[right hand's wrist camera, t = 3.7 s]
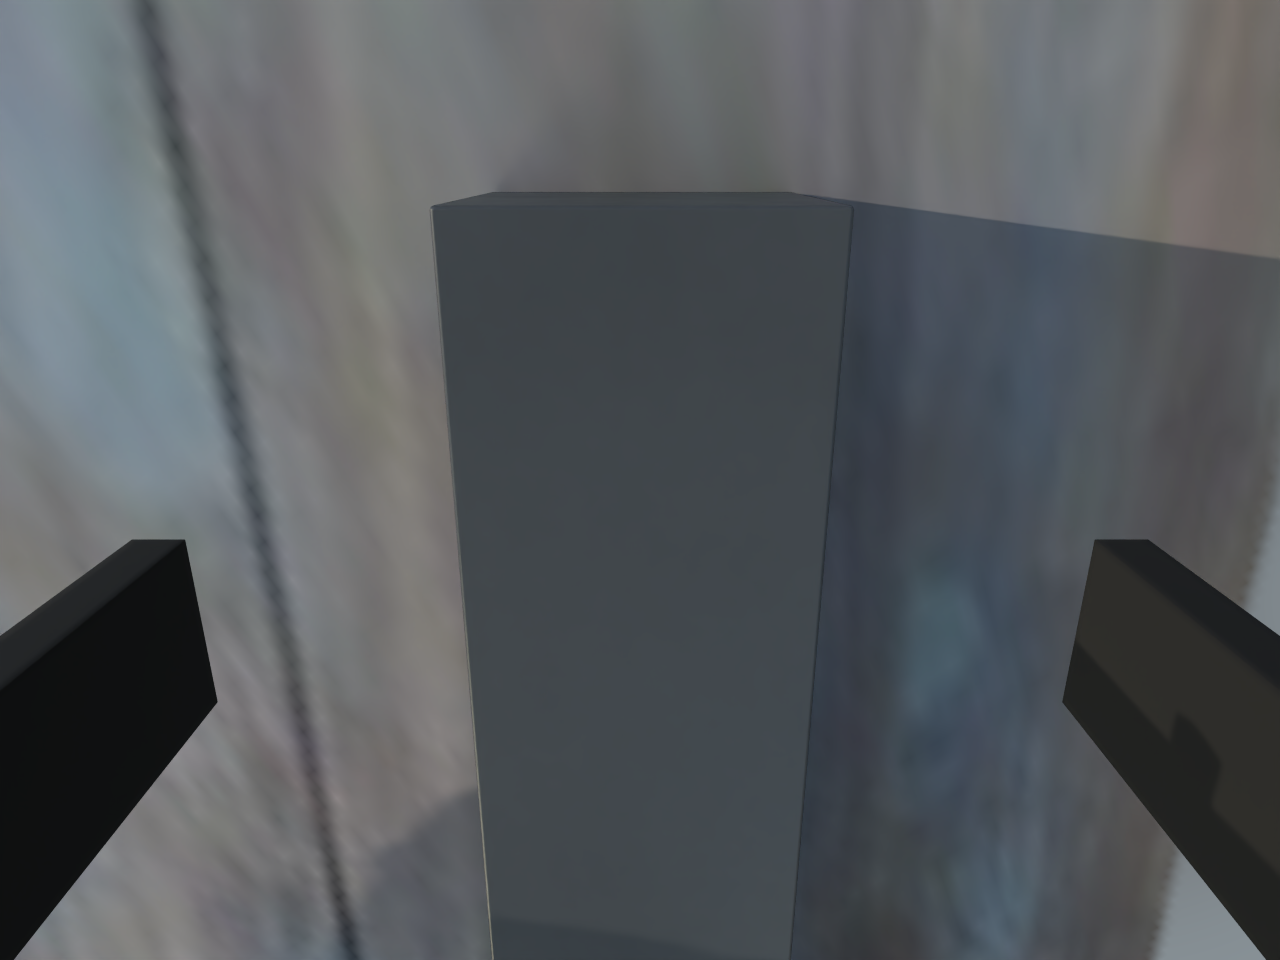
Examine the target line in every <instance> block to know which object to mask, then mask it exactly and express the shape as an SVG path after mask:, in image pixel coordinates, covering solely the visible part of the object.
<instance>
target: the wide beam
mask: <svg viewBox="0 0 1280 960" xmlns="http://www.w3.org/2000/svg"><path fill="white" fill-rule="evenodd" d="M853 215H854V209H853V207H852V206H850V205H845V204H841V203H836V202H832V201H827V200H823V199H818V198H814V197H810V196H805V195H801V194H796V193H792V192H492V193H487V194H483V195H478V196H474V197H469V198H465V199H460V200H456V201H452V202H447V203H443V204H438V205H434V206H432V207H431V208H430V219H431V231H432V243H433V255H434V267H435V279H436V291H437V303H438V315H439V327H440V339H441V351H442V364H443V376H444V388H445V400H446V412H447V424H448V436H449V448H450V460H451V472H452V484H453V496H454V508H455V520H456V533H457V545H458V557H459V569H460V581H461V593H462V605H463V617H464V629H465V641H466V653H467V665H468V677H469V689H470V701H471V714H472V726H473V738H474V750H475V762H476V774H477V786H478V798H479V810H480V822H481V834H482V846H483V858H484V870H485V882H486V895H487V907H488V919H489V931H490V943H491V955H492V960H791V949H792V937H793V925H794V914H795V902H796V890H797V878H798V866H799V854H800V843H801V831H802V819H803V807H804V795H805V783H806V772H807V760H808V748H809V736H810V724H811V712H812V700H813V689H814V677H815V665H816V653H817V641H818V629H819V618H820V606H821V594H822V582H823V570H824V558H825V547H826V535H827V523H828V511H829V499H830V487H831V476H832V464H833V452H834V440H835V428H836V416H837V405H838V393H839V381H840V369H841V357H842V345H843V334H844V322H845V310H846V298H847V286H848V274H849V263H850V251H851V239H852V227H853Z"/></svg>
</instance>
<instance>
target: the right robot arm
mask: <svg viewBox="0 0 1280 960" xmlns="http://www.w3.org/2000/svg"><path fill="white" fill-rule="evenodd" d="M216 703H217V697H216V692H215V687H214V682H213V677H212V672H211V667H210V662H209V657H208V652H207V647H206V642H205V637H204V632H203V627H202V622H201V617H200V612H199V607H198V602H197V597H196V592H195V587H194V582H193V577H192V572H191V567H190V562H189V557H188V552H187V547H186V542H185V540H131V541H129V542H128V543H127V544H125V545H124V546H123V547H121V548H120V549H119V550H117V551H116V552H114V553H113V554H112V555H110V556H109V557H108V558H106V559H105V560H103V561H102V562H101V563H99V564H98V565H97V566H95V567H94V568H93V569H91V570H90V571H88V572H87V573H86V574H84V575H83V576H82V577H80V578H79V579H77V580H76V581H75V582H73V583H72V584H71V585H69V586H68V587H67V588H65V589H64V590H62V591H61V592H60V593H58V594H57V595H56V596H54V597H53V598H52V599H50V600H49V601H47V602H46V603H45V604H43V605H42V606H41V607H39V608H38V609H36V610H35V611H34V612H32V613H31V614H30V615H28V616H27V617H26V618H24V619H23V620H21V621H20V622H19V623H17V624H16V625H15V626H13V627H12V628H11V629H9V630H8V631H6V632H5V633H4V634H2V635H1V636H0V960H14V959H15V958H16V956H17V955H18V954H19V952H20V951H21V950H22V949H23V947H24V946H25V945H26V944H27V942H28V941H29V940H30V939H31V937H32V936H33V935H34V933H35V932H36V931H37V930H38V928H39V927H40V926H41V925H42V923H43V922H44V921H45V920H46V918H47V917H48V916H49V915H50V913H51V912H52V911H53V909H54V908H55V907H56V906H57V904H58V903H59V902H60V901H61V899H62V898H63V897H64V896H65V894H66V893H67V892H68V891H69V889H70V888H71V887H72V885H73V884H74V883H75V882H76V880H77V879H78V878H79V877H80V875H81V874H82V873H83V872H84V870H85V869H86V868H87V866H88V865H89V864H90V863H91V861H92V860H93V859H94V858H95V856H96V855H97V854H98V853H99V851H100V850H101V849H102V848H103V846H104V845H105V844H106V842H107V841H108V840H109V839H110V837H111V836H112V835H113V834H114V832H115V831H116V830H117V829H118V827H119V826H120V825H121V824H122V822H123V821H124V820H125V818H126V817H127V816H128V815H129V813H130V812H131V811H132V810H133V808H134V807H135V806H136V805H137V803H138V802H139V801H140V799H141V798H142V797H143V796H144V794H145V793H146V792H147V791H148V789H149V788H150V787H151V786H152V784H153V783H154V782H155V781H156V779H157V778H158V777H159V775H160V774H161V773H162V772H163V770H164V769H165V768H166V767H167V765H168V764H169V763H170V762H171V760H172V759H173V758H174V757H175V755H176V754H177V753H178V751H179V750H180V749H181V748H182V746H183V745H184V744H185V743H186V741H187V740H188V739H189V738H190V736H191V735H192V734H193V732H194V731H195V730H196V729H197V727H198V726H199V725H200V724H201V722H202V721H203V720H204V719H205V717H206V716H207V715H208V714H209V712H210V711H211V710H212V708H213V707H214V706H215V705H216ZM1063 703H1064V705H1065V706H1066V707H1067V708H1068V710H1069V711H1070V712H1071V714H1072V715H1073V716H1074V717H1075V719H1076V720H1077V721H1078V722H1079V724H1080V725H1081V726H1082V727H1083V729H1084V730H1085V731H1086V732H1087V734H1088V735H1089V736H1090V738H1091V739H1092V740H1093V741H1094V743H1095V744H1096V745H1097V746H1098V748H1099V749H1100V750H1101V751H1102V753H1103V754H1104V755H1105V757H1106V758H1107V759H1108V760H1109V762H1110V763H1111V764H1112V765H1113V767H1114V768H1115V769H1116V770H1117V772H1118V773H1119V774H1120V775H1121V777H1122V778H1123V779H1124V781H1125V782H1126V783H1127V784H1128V786H1129V787H1130V788H1131V789H1132V791H1133V792H1134V793H1135V794H1136V796H1137V797H1138V798H1139V799H1140V801H1141V802H1142V803H1143V805H1144V806H1145V807H1146V808H1147V810H1148V811H1149V812H1150V813H1151V815H1152V816H1153V817H1154V818H1155V820H1156V821H1157V822H1158V824H1159V825H1160V826H1161V827H1162V829H1163V830H1164V831H1165V832H1166V834H1167V835H1168V836H1169V837H1170V839H1171V840H1172V841H1173V842H1174V844H1175V845H1176V846H1177V848H1178V849H1179V850H1180V851H1181V853H1182V854H1183V855H1184V856H1185V858H1186V859H1187V860H1188V861H1189V863H1190V864H1191V865H1192V866H1193V868H1194V869H1195V870H1196V872H1197V873H1198V874H1199V875H1200V877H1201V878H1202V879H1203V880H1204V882H1205V883H1206V884H1207V885H1208V887H1209V888H1210V889H1211V890H1212V892H1213V893H1214V894H1215V896H1216V897H1217V898H1218V899H1219V901H1220V902H1221V903H1222V904H1223V906H1224V907H1225V908H1226V909H1227V911H1228V912H1229V913H1230V915H1231V916H1232V917H1233V918H1234V920H1235V921H1236V922H1237V923H1238V925H1239V926H1240V927H1241V928H1242V930H1243V931H1244V932H1245V933H1246V935H1247V936H1248V937H1249V938H1250V940H1251V941H1252V942H1253V944H1254V945H1255V946H1256V947H1257V949H1258V950H1259V951H1260V952H1261V954H1262V955H1263V956H1264V957H1265V959H1266V960H1280V636H1279V635H1278V634H1276V633H1275V632H1274V631H1272V630H1271V629H1269V628H1268V627H1267V626H1265V625H1264V624H1263V623H1261V622H1260V621H1258V620H1257V619H1256V618H1254V617H1253V616H1252V615H1250V614H1249V613H1248V612H1246V611H1245V610H1244V609H1242V608H1241V607H1239V606H1238V605H1237V604H1235V603H1234V602H1233V601H1231V600H1230V599H1228V598H1227V597H1226V596H1224V595H1223V594H1222V593H1220V592H1219V591H1218V590H1216V589H1215V588H1213V587H1212V586H1211V585H1209V584H1208V583H1207V582H1205V581H1204V580H1203V579H1201V578H1200V577H1198V576H1197V575H1196V574H1194V573H1193V572H1192V571H1190V570H1189V569H1187V568H1186V567H1185V566H1183V565H1182V564H1181V563H1179V562H1178V561H1177V560H1175V559H1174V558H1172V557H1171V556H1170V555H1168V554H1167V553H1166V552H1164V551H1163V550H1161V549H1160V548H1159V547H1157V546H1156V545H1155V544H1153V543H1152V542H1151V541H1149V540H1095V542H1094V547H1093V552H1092V557H1091V562H1090V567H1089V572H1088V577H1087V582H1086V587H1085V592H1084V597H1083V602H1082V607H1081V612H1080V617H1079V622H1078V627H1077V632H1076V637H1075V642H1074V647H1073V652H1072V657H1071V662H1070V667H1069V672H1068V677H1067V682H1066V687H1065V692H1064V697H1063Z"/></svg>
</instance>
